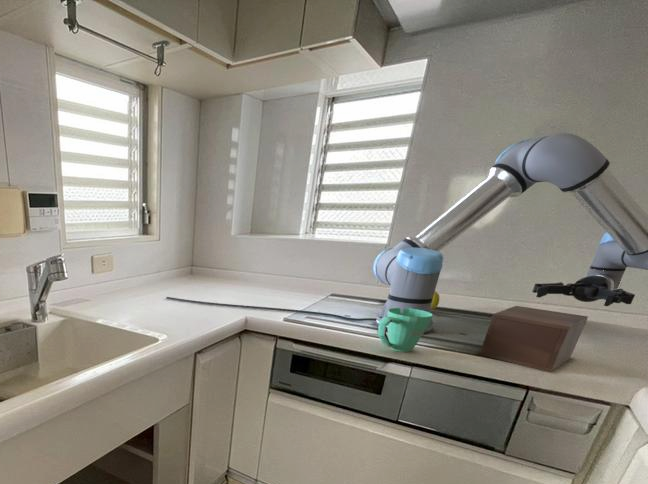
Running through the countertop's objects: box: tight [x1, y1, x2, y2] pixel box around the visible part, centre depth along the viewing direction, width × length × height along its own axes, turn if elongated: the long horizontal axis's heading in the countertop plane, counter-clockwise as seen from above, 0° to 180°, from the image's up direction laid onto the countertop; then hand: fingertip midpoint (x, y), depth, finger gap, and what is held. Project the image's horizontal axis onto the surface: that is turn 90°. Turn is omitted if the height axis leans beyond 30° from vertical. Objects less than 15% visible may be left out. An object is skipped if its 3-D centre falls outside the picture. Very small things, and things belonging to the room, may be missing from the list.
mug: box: [376, 308, 434, 353], centre depth 104 cm, size 15×10×10 cm
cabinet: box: [478, 305, 589, 372], centre depth 99 cm, size 16×14×11 cm
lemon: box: [431, 290, 440, 311], centre depth 144 cm, size 6×6×8 cm
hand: (572, 296), depth 109 cm, fingers open, 13 cm apart
